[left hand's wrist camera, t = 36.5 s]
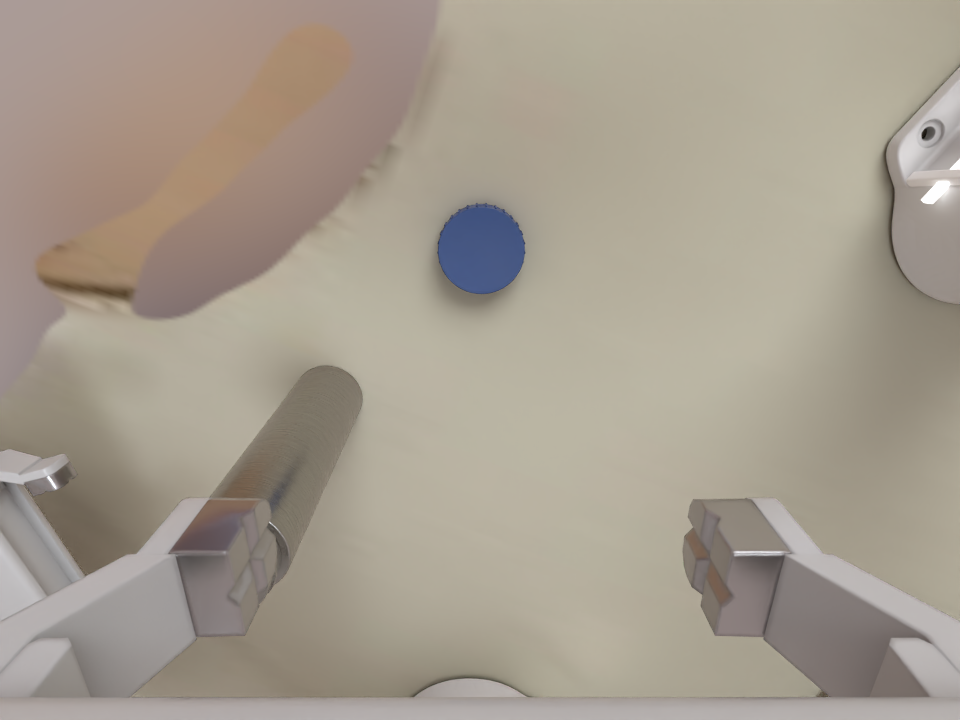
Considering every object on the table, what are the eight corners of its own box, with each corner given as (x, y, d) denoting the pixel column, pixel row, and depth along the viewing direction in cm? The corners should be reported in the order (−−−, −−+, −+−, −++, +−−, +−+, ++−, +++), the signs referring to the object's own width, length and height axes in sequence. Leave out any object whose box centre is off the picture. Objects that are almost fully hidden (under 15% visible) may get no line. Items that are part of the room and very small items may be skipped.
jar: (282, 382, 43) (138, 559, 25) (339, 354, 42) (233, 515, 24) (319, 435, 45) (209, 635, 27) (374, 409, 44) (300, 598, 26)
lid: (422, 231, 39) (419, 236, 37) (496, 185, 38) (497, 188, 36) (467, 302, 41) (466, 310, 39) (538, 261, 40) (541, 267, 38)
